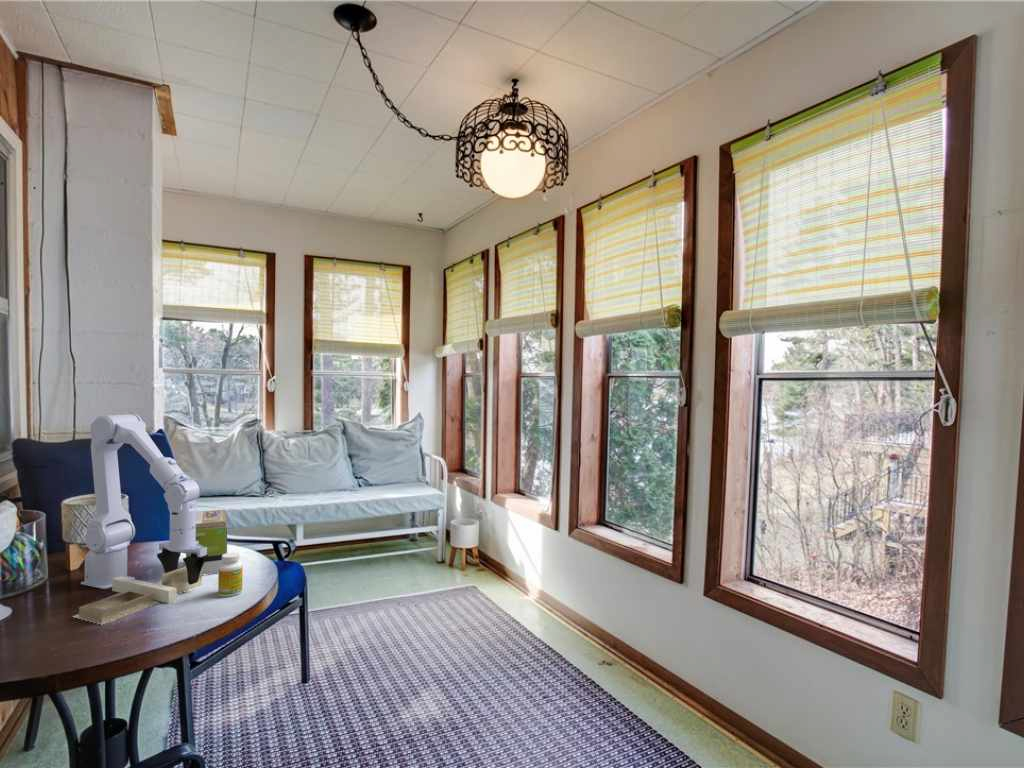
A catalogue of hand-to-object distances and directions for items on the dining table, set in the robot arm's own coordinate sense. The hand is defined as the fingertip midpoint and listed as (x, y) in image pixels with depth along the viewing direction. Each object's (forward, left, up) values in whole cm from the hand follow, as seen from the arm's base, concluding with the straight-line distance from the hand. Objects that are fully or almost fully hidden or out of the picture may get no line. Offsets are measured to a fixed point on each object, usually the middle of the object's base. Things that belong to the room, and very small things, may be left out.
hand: (182, 581), depth 143 cm
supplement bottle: (+13, +3, -2) cm, 13 cm away
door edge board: (-5, -7, -2) cm, 9 cm away
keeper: (-2, -15, -2) cm, 15 cm away
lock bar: (0, 0, -2) cm, 2 cm away
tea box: (-9, +15, -2) cm, 18 cm away
